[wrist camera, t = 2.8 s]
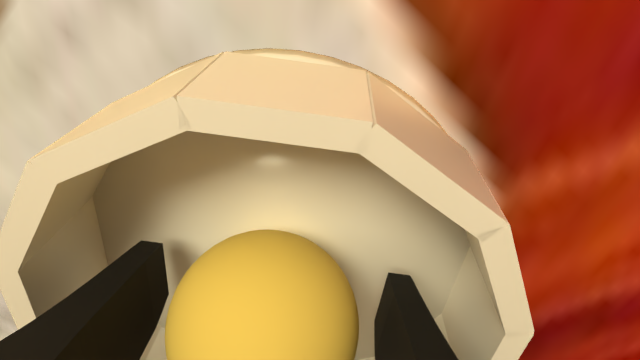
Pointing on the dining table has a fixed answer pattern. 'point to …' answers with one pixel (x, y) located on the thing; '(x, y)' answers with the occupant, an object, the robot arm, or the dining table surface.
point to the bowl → (272, 194)
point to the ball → (263, 303)
